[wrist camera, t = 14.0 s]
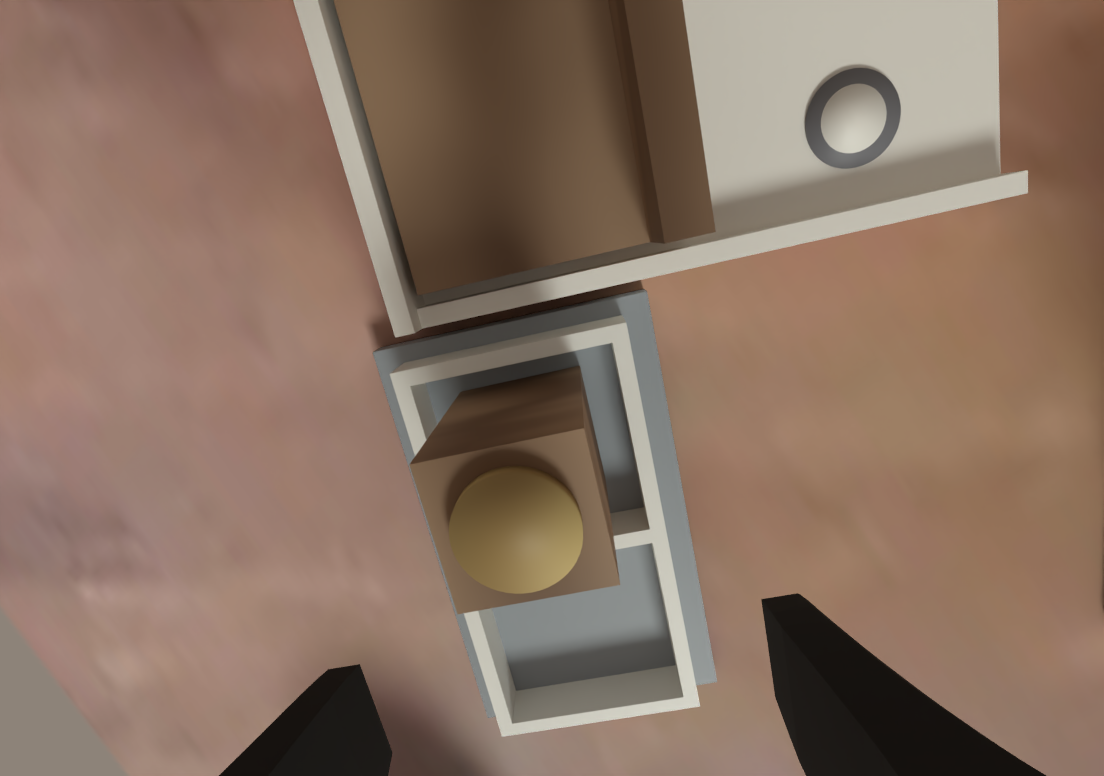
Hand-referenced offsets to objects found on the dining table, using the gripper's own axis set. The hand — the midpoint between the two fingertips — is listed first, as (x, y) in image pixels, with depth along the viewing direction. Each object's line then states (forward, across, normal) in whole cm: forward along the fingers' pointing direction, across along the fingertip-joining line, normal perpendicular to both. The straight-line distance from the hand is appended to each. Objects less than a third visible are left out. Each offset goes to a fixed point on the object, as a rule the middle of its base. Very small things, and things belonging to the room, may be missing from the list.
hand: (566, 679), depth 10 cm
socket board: (+10, +1, +2) cm, 11 cm away
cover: (+9, -1, -11) cm, 15 cm away
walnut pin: (+9, +1, -1) cm, 10 cm away
